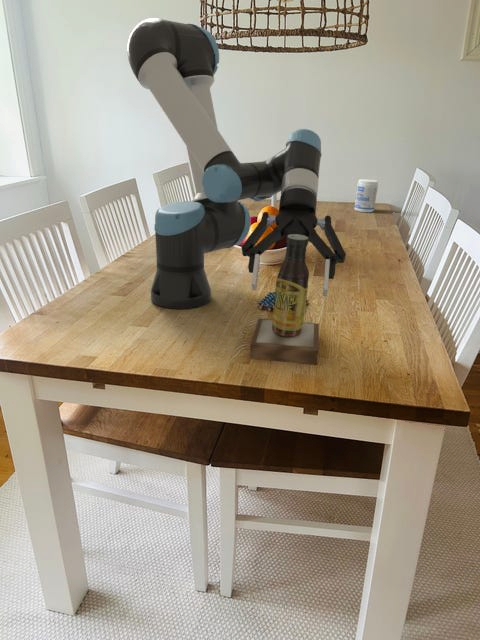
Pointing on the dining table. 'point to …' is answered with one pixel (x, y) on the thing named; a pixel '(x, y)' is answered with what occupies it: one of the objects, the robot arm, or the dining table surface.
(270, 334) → the walnut plinth
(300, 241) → the sauce bottle
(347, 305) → the dining table surface
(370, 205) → the supplement tub
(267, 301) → the woven mat
